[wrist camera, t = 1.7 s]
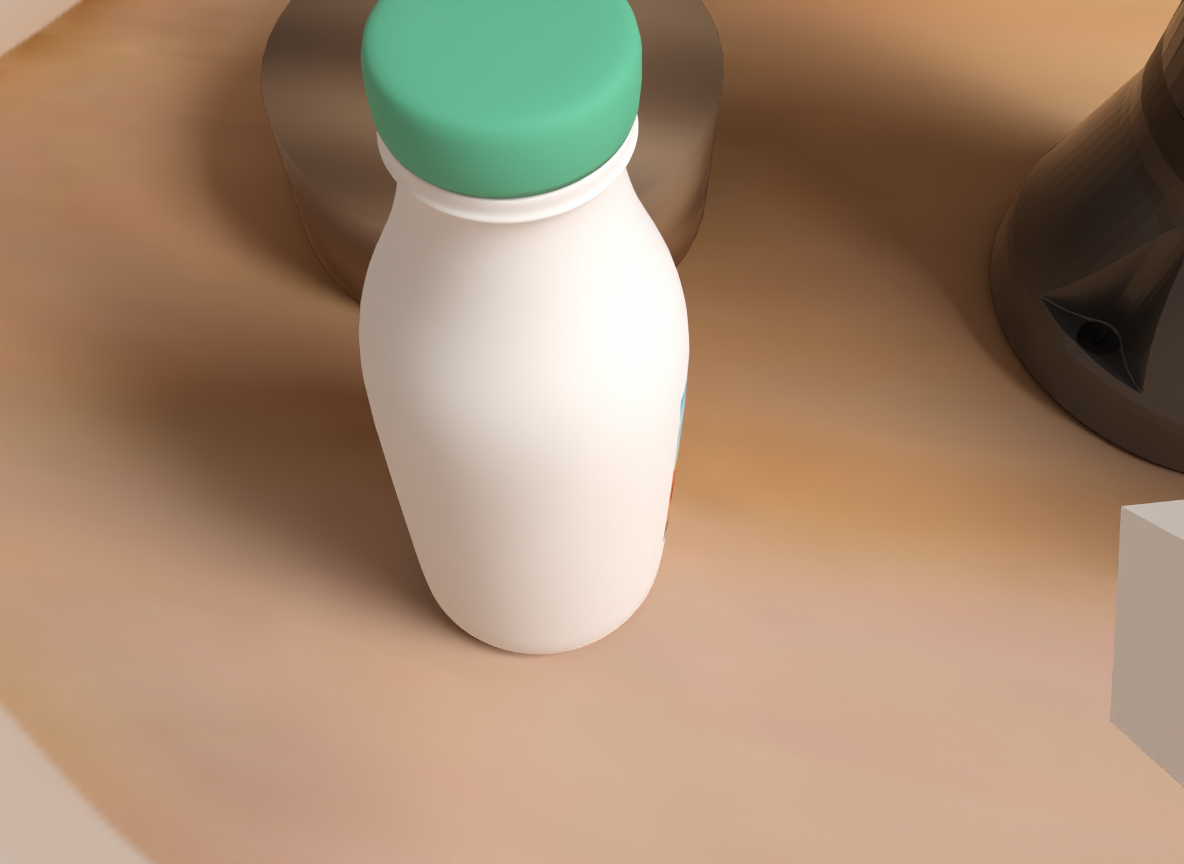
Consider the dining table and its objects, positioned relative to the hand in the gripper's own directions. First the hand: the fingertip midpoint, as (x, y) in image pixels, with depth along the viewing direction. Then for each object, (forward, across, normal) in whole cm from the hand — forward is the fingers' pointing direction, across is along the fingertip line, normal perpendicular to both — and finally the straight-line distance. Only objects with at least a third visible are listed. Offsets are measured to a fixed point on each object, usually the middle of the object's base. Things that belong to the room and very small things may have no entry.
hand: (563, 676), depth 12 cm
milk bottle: (+22, 0, -6) cm, 22 cm away
